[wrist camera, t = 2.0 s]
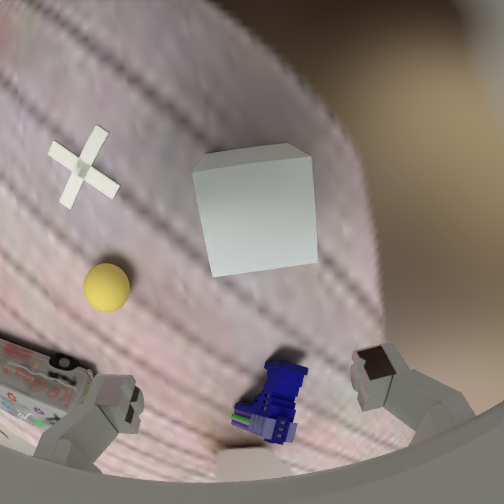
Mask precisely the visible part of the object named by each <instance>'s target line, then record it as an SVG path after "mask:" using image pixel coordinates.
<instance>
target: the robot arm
mask: <svg viewBox="0 0 504 504" xmlns="http://www.w3.org/2000/svg"><path fill="white" fill-rule="evenodd" d="M352 360H353V362H354V363H353V364H352V366H351V369H350V377H351V383H352V386H353V389H354V390H355V391H357V392H359V393H358V398H357V399H358V401H359V404H360V406H361V409H362V412H364V411H368V410H372V409H376V408H380V407H384V408H385V409H386V410H388V411H389V412H390V413H392V414H393V415H394V416H396V417H397V418H398V419H400V420H401V421H402V422H404V423H405V424H406V425H408V426H409V427H410V428H412V429H413V430H415V431H416V433H415V435H414V437H413V439H412V440H411V442H410V444H409V446H408V447H405V448H403V449H400V450H397V451H394V452H391V453H388V454H385V455H382V456H379V457H375V458H372V459H368V460H365V461H361V462H358V463H354V464H350V465H346V466H342V467H337V468H333V469H328V470H323V471H318V472H313V473H308V474H302V475H296V476H289V477H282V478H274V479H265V480H255V481H240V482H217V483H189V482H166V481H153V480H142V479H134V478H126V477H119V476H112V475H106V474H102V472H101V470H100V469H99V468H98V467H97V466H95V465H94V464H93V463H94V462H95V461H96V459H97V458H98V457H99V456H100V455H101V454H102V453H103V451H104V450H105V449H106V448H107V447H108V446H109V445H110V443H111V442H112V441H113V440H114V439H115V438H116V437H117V435H118V434H119V433H129V434H138V430H139V426H140V422H141V420H140V418H139V417H138V416H139V415H140V414H141V413H142V412H143V409H144V397H143V394H142V392H141V390H140V389H139V388H138V387H136V386H135V383H136V381H135V379H134V377H133V376H132V375H115V374H97V375H96V376H95V377H94V379H93V381H92V383H91V386H90V388H89V391H88V393H87V395H86V398H85V400H84V403H83V404H79V405H78V406H76V407H75V408H74V409H73V410H71V411H70V412H69V413H68V414H66V415H65V416H64V417H63V418H61V419H60V420H59V421H57V422H56V423H55V424H54V425H52V426H51V427H50V428H49V429H47V430H46V431H45V432H44V433H42V436H41V438H40V441H39V443H38V446H37V448H36V451H35V453H34V456H30V455H27V454H23V453H21V452H18V451H16V450H13V449H10V448H8V447H5V446H3V445H0V504H504V401H502V402H501V403H499V404H497V405H496V406H494V407H492V408H491V409H489V410H487V411H485V412H483V413H481V414H480V415H478V416H476V415H475V413H474V411H473V410H472V408H471V407H470V405H469V403H468V402H467V400H466V399H465V397H464V396H463V394H462V393H461V392H459V391H457V390H455V389H453V388H451V387H449V386H447V385H445V384H443V383H441V382H439V381H437V380H434V379H433V378H431V377H429V376H426V375H425V374H423V373H421V372H418V371H416V370H414V369H412V370H410V369H409V367H408V365H407V364H406V362H405V361H404V359H403V357H402V356H401V354H400V352H399V351H398V349H397V348H396V346H395V344H394V343H393V342H392V341H390V342H386V343H382V344H379V345H374V346H370V347H366V348H362V349H357V350H354V351H353V353H352Z"/></svg>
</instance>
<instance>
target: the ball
mask: <svg viewBox="0 0 504 504" xmlns="http://www.w3.org/2000/svg"><path fill="white" fill-rule="evenodd" d="M129 292H130V284H129V280H128V278H127V276H126V274H125V273H124V271H123V270H122V269H121V268H119V267H118V266H116V265H113V264H109V263H103V264H99V265H96V266H95V267H93V268H92V269H91V270H90V271H89V272H88V274H87V275H86V278H85V280H84V294H85V297H86V299H87V301H88V302H89V303H90V305H91V306H93V307H94V308H95V309H97V310H99V311H103V312H113V311H116V310H118V309H119V308H121V307H122V306H123V305H124V304H125V302H126V301H127V299H128V297H129Z"/></svg>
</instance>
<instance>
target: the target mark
mask: <svg viewBox="0 0 504 504" xmlns="http://www.w3.org/2000/svg"><path fill="white" fill-rule="evenodd" d="M108 135H109V132H107V131H106V130H104V129H103V128H101V127H100V126H98V125H96V126H95V128H94V130H93V132H92V134H91V136H90V137H89V139H88V141H87V143H86V145H85V147H84V149H83V151H82V153H81V155H80V157H78V156H77V155H75V154H74V153H72V152H71V151H69V150H68V149H66V148H65V147H64V146H62V145H61V144H59V143H58V142H56V141H55V140H54V141H53V143H52V145H51V147H50V150H49V152H48V155H49V156H51V157H52V158H54V159H55V160H56V161H58V162H59V163H61V164H62V165H64V166H65V167H66V168H68V169H69V170H71V171H72V174H71V176H70V178H69V180H68V183H67V185H66V187H65V189H64V192H63V194H62V197H61V199H60V201H59V202H60V203H62V204H63V205H65V206H66V207H67V208H69V209H70V210H71V209H72V206H73V204H74V202H75V199H76V197H77V195H78V193H79V191H80V189H81V186H82V184H83V182H84V180H85V181H86V182H88V183H89V184H91V185H92V186H94V187H95V188H96V189H98V190H99V191H101V192H102V193H104V194H105V195H107V196H108V197H110V198H111V199H113V198H114V197H115V195H116V193H117V191H118V189H119V187H120V186H121V185H119V184H118V183H116V182H115V181H113V180H112V179H110V178H109V177H107V176H106V175H104V174H103V173H101V172H100V171H99V170H97V169H96V168H94V167H93V166H92V164H93V162H94V160H95V158H96V156H97V155H98V153H99V151H100V149H101V147H102V145H103V144H104V142H105V140H106V138H107V136H108Z"/></svg>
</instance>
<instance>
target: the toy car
mask: <svg viewBox="0 0 504 504" xmlns="http://www.w3.org/2000/svg"><path fill="white" fill-rule="evenodd" d="M77 366H78V364H77V361H76V359H74V358H72V357H67V356H65V355H64V354H61V353H56V354H55V355H54V357H53V359H52V360H51V357H49V356H46V355H43V354H41V353H38V352H35V351H32V350H30V349H27V348H24V347H21V346H19V345H16V344H13V343H11V342H8V341H6V340H3V339H1V338H0V408H1V409H2V410H4V411H6V412H8V413H10V414H11V415H13V416H15V417H17V418H19V419H21V420H23V421H25V422H27V423H30V424H32V425H34V426H37V427H39V428H42V429H44V430H47V429H49V428H50V427H51V426H52V425H54V424H55V423H56V422H57V421H59V420H60V419H61V418H63V417H64V416H65V415H66V414H68V413H69V412H70V411H71V410H73V409H74V408H75V407H76V406H78V405H79V404H83V403H84V400H85V398H86V395H87V393H88V391H89V388H90V386H91V383H92V381H93V379H94V377H93V373H92V371H91V370H90V369H88V370H86V369H84V368H81V367H77Z"/></svg>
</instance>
